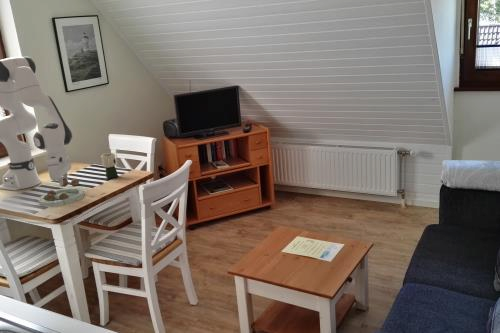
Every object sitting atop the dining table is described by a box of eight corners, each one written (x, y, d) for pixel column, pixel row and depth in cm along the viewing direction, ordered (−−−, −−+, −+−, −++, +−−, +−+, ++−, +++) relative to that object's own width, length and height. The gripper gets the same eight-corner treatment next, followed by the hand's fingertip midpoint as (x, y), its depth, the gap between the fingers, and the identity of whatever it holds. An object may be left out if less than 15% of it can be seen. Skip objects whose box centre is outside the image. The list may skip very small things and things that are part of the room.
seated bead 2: (45, 203, 248) (43, 195, 247) (50, 200, 252) (48, 192, 251) (51, 203, 247) (49, 195, 246) (57, 200, 251) (55, 193, 249)
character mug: (119, 179, 278) (114, 155, 274) (105, 181, 276) (101, 158, 273) (118, 173, 288) (114, 151, 284) (105, 176, 286) (101, 153, 283)
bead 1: (67, 187, 256) (65, 179, 255) (59, 188, 256) (57, 180, 255) (69, 184, 260) (68, 177, 259) (62, 185, 260) (60, 178, 259)
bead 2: (70, 187, 273) (68, 180, 272) (75, 184, 276) (73, 177, 275) (76, 187, 271) (75, 180, 270) (81, 184, 275) (79, 177, 274)
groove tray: (30, 207, 248) (28, 202, 247) (59, 191, 267) (58, 187, 266) (65, 208, 241) (64, 203, 240) (93, 192, 260) (92, 187, 259)
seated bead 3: (58, 202, 248) (56, 194, 247) (63, 199, 251) (62, 191, 250) (65, 202, 246) (63, 195, 245) (70, 199, 250) (68, 192, 249)
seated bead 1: (46, 199, 255) (44, 191, 253) (51, 196, 258) (50, 188, 257) (53, 199, 253) (51, 191, 252) (58, 196, 257) (56, 189, 256)
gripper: (58, 151, 264) (64, 177, 267) (43, 162, 244) (50, 190, 248) (71, 150, 263) (76, 176, 267) (57, 161, 244) (63, 189, 248)
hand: (63, 183), depth 257 cm, fingers closed on bead 1, 4 cm apart
